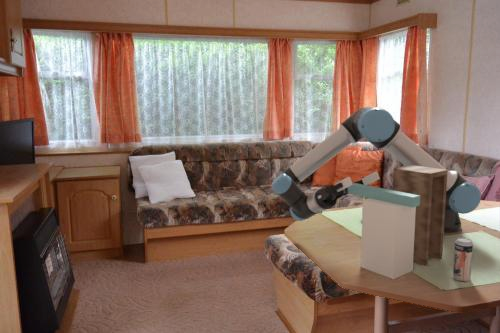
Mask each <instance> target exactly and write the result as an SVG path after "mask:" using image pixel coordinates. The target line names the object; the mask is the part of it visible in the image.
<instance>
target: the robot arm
mask: <svg viewBox="0 0 500 333" xmlns="http://www.w3.org/2000/svg"><path fill="white" fill-rule="evenodd" d="M338 127H339V128H337V130H335V131H334V132H332V133H331V134H330V135H328V136H327V137H325V139H324V140H322V141H321V142H320V143H319V144H317V145H316V146H315V147H313V148H312V149H311V150H309V151H308V152H307V153H306V154H304V155H303V156H302V157H300V158H299V159H298V160H297V161H295V162H294V163H293V164H292V165H290V166H289V167H288V168H287V169H285V170H284V171H281V172H279V173H278V174H276V176H275V178H274V179H273V181H272V182H271V184H270V188H271V189H272V190H273V191H274V192H275V194H277V195H278V196H279V197H280V198H281V199H282V200H283V202H285V203H286V204H287V205H288V206H289V213H290V215H291V218H292V219H293V220H294V221H297V222H302V221H305V220H308V219H310V218H312V217H313V216H315V215H317V214H321V215H322V214H323V211H326V210H329V209H331V208H333V207H335V205H336V204H337V202H338V199H341V198H342V197H345V196H347V195H350V194H349V193H348V187H349V186H351V185H353V183H357V184H363V185H368V186H370V185H371V184H372V183H374V182H377V181H379V180H380V179H381V178H380V175H379V173H378V171H374V172H372V173H370V174H368V175H367V176H362V177H361V179H360V180H358V181H355V182H353V181H352V179H351V176H347V177H345V178H344V179H341V180H339V181H337V182H336V183H334V184H331V185H330V186H322V187H321V188H319V189H317V190H315V191H313V192H311V193H310V194H308V195H307V193H306V192H305V191H303V190H302V188H301V187H300V186H299V184H300V183H302V182H303V181H304V180H305V179H307V178H308V177H310V176H312V174H314V172H316V171H317V170H319V169H320V168H321V167H323V166H324V165H325V164H326V163H328V162H329V161H330V160H332V159H333V158H334V157H335V156H336V155H339V154H340V152H342V151H344V149H346V148H347V147H349V146H350V145H351V144H353V145H355V144H356V143H358V142H359V141H361V140H363V139H365V140H366V141H367V142H368V143H370V144H371V145H372V146H373V147H375V148H376V149H378V150H385V151H386V152H387V153H389V155H390V156H392V157H394V158H395V159H396V160H397V161H398V162H399V163H401V164H402V165H403V166H408V165H416V166H423V167H430V168H437V169H445V170H448V169H447V168H446V167H445V166H443V165H442V164H440V162H438V161H437V160H436V159H434V157H432V156H431V155H430V154H429V153H428V152H426V151H425V150H424V149H423V148H422V147H421V146H419V145H418V144H417V143H415V141H413V140H412V139H411V138H410V137H408V136H407V135H406V134H405V133H404V132H402V126H401V124H400V123H399V122H397V121H396V120H395V119H394V117H393V116H392V114H391V113H390V112H389V111H387V110H386V109H384V108H381V107H377V106H375V107H373V106H364V107H361V108H359V109H357V110H355V111H354V112H353V113H352V114H351V115H349V116H348V117H347V118H346V119H345V120H344V121H343V122H341V123H340V124H339V126H338ZM481 198H482V193H481V190H480V188H479V187H478V186H477V185H476V184H474V183H472V182H469V181H468V180H466V179H465V178H464V177H463V176H462V175H460V172H459V171H456V170H448V172H447V189H446V205H445V221H444V233H454V232H459V231H461V230H462V222H461V218H460V214H462V215H463V214H464V215H465V214H469V213H472V212H473V211H474V210H476V209H477V208H478V207H479V205H480V203H481V200H482V199H481Z"/></svg>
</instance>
